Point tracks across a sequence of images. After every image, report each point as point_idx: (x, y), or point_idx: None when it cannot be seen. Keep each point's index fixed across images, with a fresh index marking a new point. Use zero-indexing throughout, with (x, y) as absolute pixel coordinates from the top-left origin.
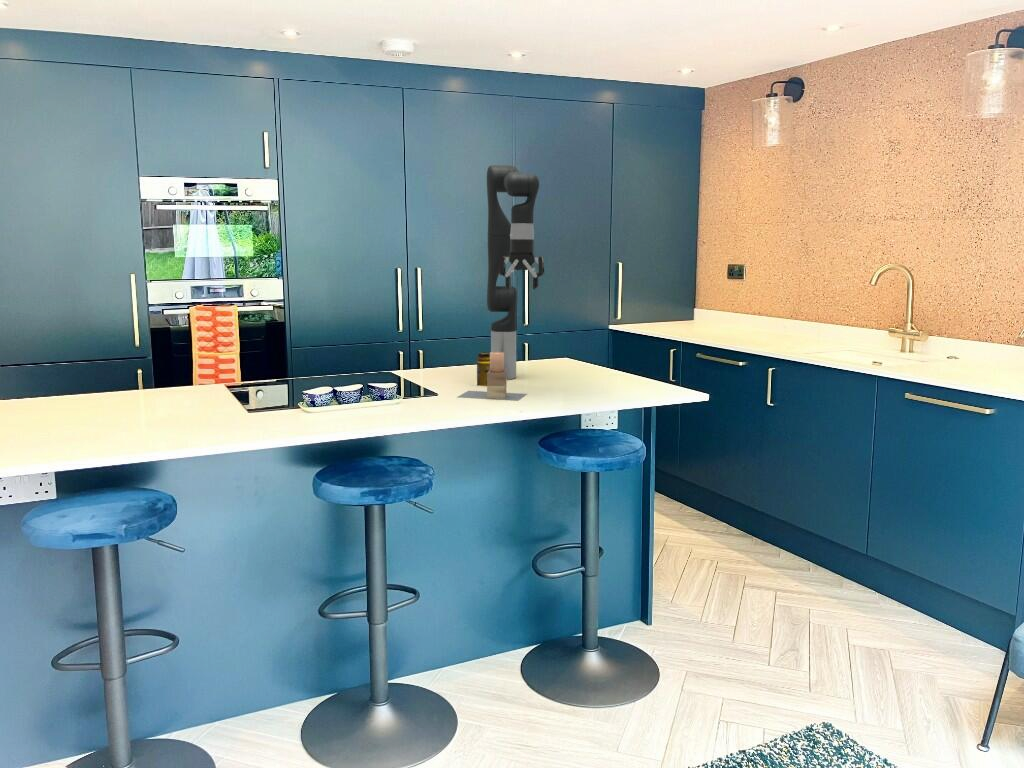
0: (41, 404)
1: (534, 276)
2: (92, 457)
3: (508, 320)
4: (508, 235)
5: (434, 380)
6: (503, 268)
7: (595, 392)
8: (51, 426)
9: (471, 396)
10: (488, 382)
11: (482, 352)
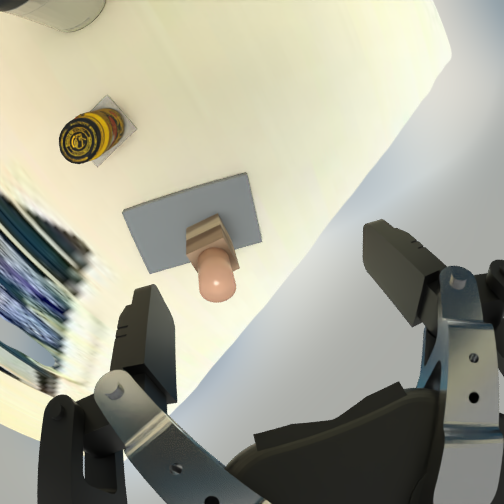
0: None
1: (429, 332)
2: (124, 456)
3: None
4: None
5: None
6: (124, 489)
7: (344, 61)
8: (38, 435)
9: (166, 255)
10: None
11: (62, 136)
